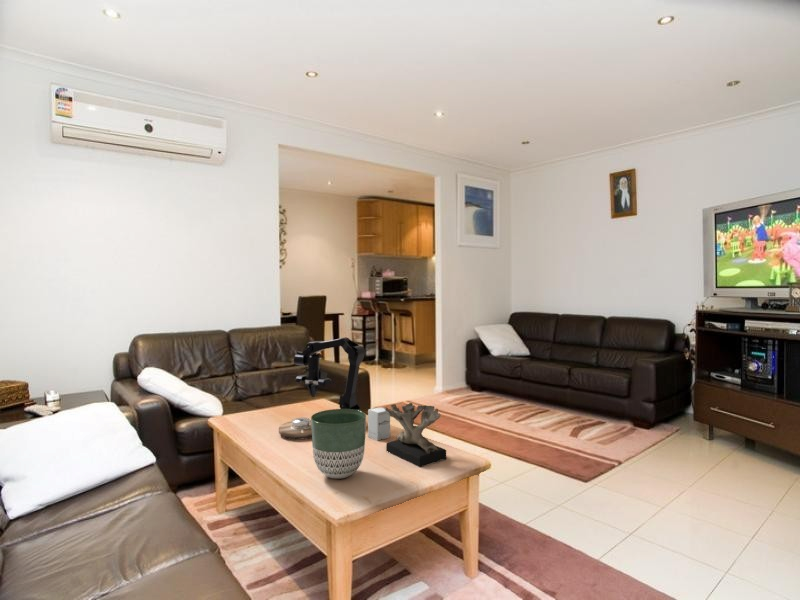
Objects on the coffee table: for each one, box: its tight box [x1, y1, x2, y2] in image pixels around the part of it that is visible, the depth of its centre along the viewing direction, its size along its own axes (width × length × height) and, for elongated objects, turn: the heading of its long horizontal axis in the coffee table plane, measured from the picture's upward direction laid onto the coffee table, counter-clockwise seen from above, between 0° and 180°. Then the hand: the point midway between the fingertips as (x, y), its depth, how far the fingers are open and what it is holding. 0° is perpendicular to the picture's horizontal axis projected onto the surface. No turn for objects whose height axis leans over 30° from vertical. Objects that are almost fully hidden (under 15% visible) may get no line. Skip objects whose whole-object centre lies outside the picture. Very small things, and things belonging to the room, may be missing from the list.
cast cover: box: [291, 417, 311, 429], centre depth 208 cm, size 8×8×3 cm
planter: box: [310, 408, 367, 480], centre depth 161 cm, size 20×20×21 cm
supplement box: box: [367, 406, 391, 442], centre depth 203 cm, size 7×7×13 cm
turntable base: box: [283, 436, 312, 440], centre depth 209 cm, size 16×16×1 cm
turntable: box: [278, 419, 312, 437], centre depth 209 cm, size 20×20×7 cm
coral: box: [383, 402, 447, 468], centre depth 178 cm, size 25×20×22 cm
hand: (313, 397), depth 228 cm, fingers closed
